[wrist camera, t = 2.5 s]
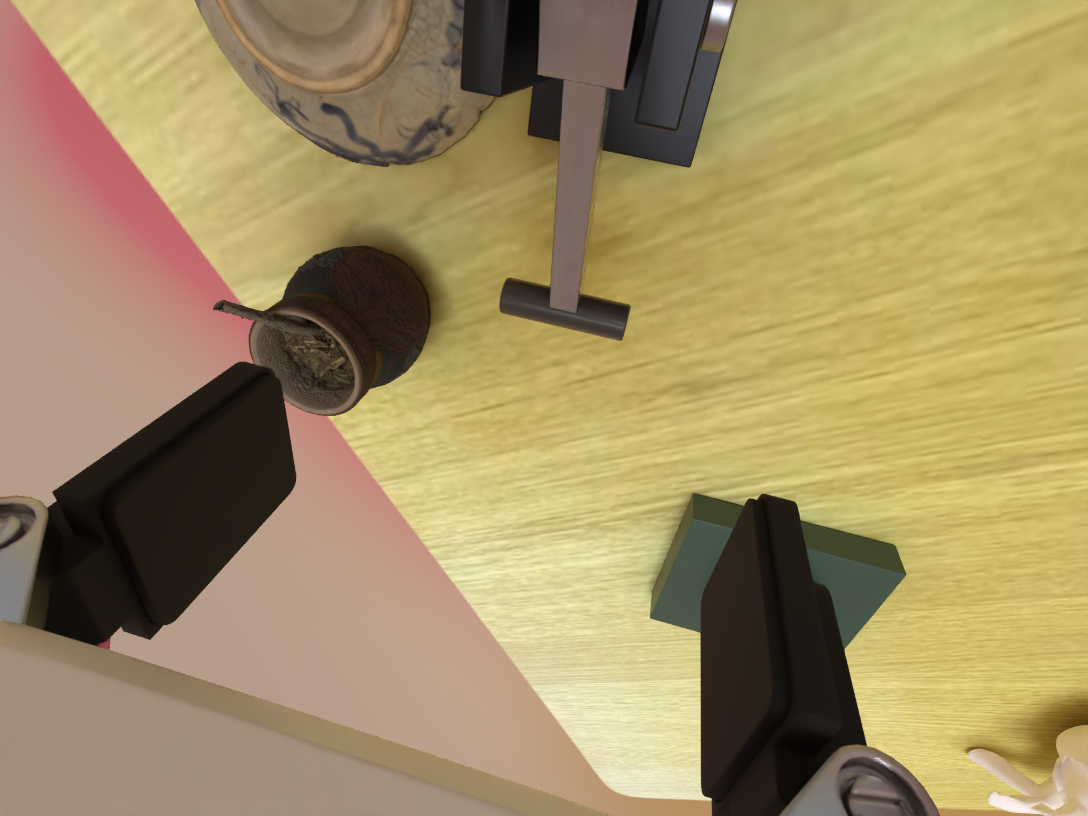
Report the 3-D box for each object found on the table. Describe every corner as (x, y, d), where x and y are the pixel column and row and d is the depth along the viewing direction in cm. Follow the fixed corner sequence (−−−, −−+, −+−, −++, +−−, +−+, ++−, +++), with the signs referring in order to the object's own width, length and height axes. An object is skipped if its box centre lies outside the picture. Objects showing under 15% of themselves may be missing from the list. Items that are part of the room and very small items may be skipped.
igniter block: (651, 592, 40) (647, 642, 37) (693, 492, 34) (692, 541, 31) (822, 640, 39) (833, 695, 35) (895, 545, 33) (917, 601, 30)
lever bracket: (690, 162, 24) (686, 265, 14) (533, 131, 25) (416, 206, 14) (781, -164, 18) (893, -413, 8) (571, -193, 19) (420, -458, 8)
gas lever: (629, 311, 23) (617, 358, 22) (512, 285, 24) (496, 329, 22) (733, -92, 12) (722, -40, 10) (504, -127, 12) (468, -81, 11)
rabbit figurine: (1192, 790, 37) (1059, 859, 40) (1076, 681, 42) (964, 749, 45) (1241, 836, 28) (1067, 920, 31) (1087, 692, 33) (948, 775, 36)
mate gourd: (380, 371, 34) (282, 478, 26) (295, 264, 31) (155, 347, 23) (471, 324, 31) (391, 430, 23) (385, 200, 28) (260, 270, 20)
